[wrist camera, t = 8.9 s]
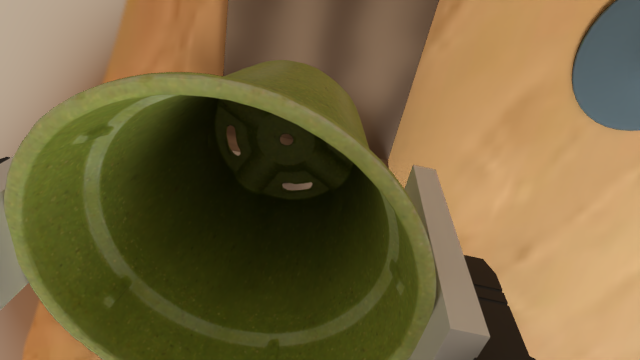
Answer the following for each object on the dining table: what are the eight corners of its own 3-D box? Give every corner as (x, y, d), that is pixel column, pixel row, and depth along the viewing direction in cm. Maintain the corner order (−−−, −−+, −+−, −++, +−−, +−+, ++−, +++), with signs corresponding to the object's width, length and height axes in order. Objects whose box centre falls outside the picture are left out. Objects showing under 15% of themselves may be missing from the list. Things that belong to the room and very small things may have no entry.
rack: (448, -42, 26) (466, -41, 21) (346, 282, 41) (344, 323, 36) (239, -89, 25) (212, -98, 21) (215, 254, 41) (196, 291, 36)
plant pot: (213, 233, 19) (114, 413, 12) (139, 33, 15) (-101, 114, 7) (408, 219, 17) (440, 416, 10) (392, -12, 13) (428, 33, 5)
